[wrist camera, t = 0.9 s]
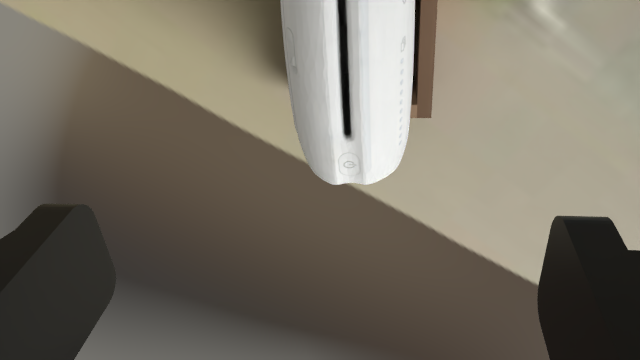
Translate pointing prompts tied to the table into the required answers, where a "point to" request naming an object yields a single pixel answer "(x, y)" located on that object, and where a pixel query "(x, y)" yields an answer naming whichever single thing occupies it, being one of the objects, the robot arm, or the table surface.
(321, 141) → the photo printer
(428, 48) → the brown wooden tray
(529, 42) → the table surface
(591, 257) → the robot arm
